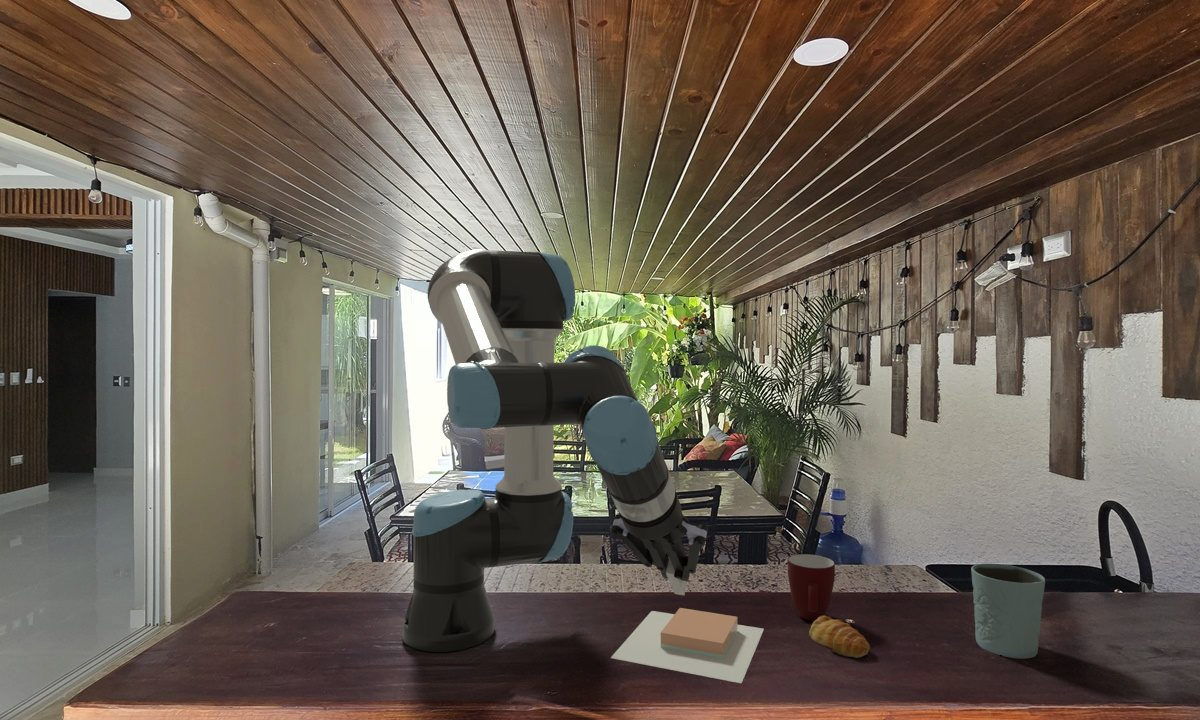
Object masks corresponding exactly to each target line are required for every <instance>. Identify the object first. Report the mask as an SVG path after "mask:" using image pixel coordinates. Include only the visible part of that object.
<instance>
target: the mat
mask: <svg viewBox="0 0 1200 720" xmlns="http://www.w3.org/2000/svg"><path fill="white" fill-rule="evenodd" d="M674 615H675V613H674V614H673V613H669V612H661V611H654V610H651V611H650V612H649V613H648V615H647V616H646V617H645V618H644V619H643V620H642V621H641V622H640V624H639V625H638V626H637V627H636V628H635V629H634V630H633V632H632V633H630V635H629V636H628V637H627V638H626V639H625V641H624V642H623V643H622V644H621V645H620V647H618V649H616V651H615V652H614V653H613V654H612V655H611V657H610V659H613V660H618V661H624V662H629V663H634V664H639V665H645V666H650V667H654V668H659V669H665V670H670V671H673V672H674V671H675V672H679V673H680V672H681V673H685V674H692V675H695V676H700V677H706V678H710V679H711V678H712V679H716V680H721V681H727V682H732V683H737V684H740V685H741V684H743V680H744V679H745V676H746V673H747V671H748V670H749V666H750V665H751V662H752V659H753V657H754V654H755V652H756V649H757V647H758V645H759V642H760V640H761V637H762V635H763V633H764V630H765V629H764V628H762V627H761V628H760V627H755V626H747V625H742V624H737V633H736V635H735V637H734V639H733V641H732V643H731V645H730V646H729V648H728V650H727V652H726V654H725V656H724V658H723V659H721V658H715V657H710V656H704V655H699V654H693V653H688V652H682V651H677V650H671V649H666V648H661V631H662V630H663V629H664V628H665V626H666V625H667V624H668V622H669V621H670V620H671V619H672V617H673V616H674Z"/></svg>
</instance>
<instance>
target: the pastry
mask: <svg viewBox="0 0 1200 720" xmlns="http://www.w3.org/2000/svg"><path fill="white" fill-rule="evenodd" d="M808 636H809V637H810V638H811V639H812V640H813V642H815V643H817V644H819V645H822V646H824V647H827V648H829V649H830V651H831V652H833V653H835V654H837V655H840V656H845V657H848V658H849V657H852V658H856V659H859V658H862V657H864V656H867V655H868V654H869V651H870V650H871V646H870V643H869V642H868V641H867V640H866V638H865V636H864V635H863V634H861V633H860V632H859V631H858V630H857V629H855V628H854V627H852V626H851V624H850V623H848V622H847V623H846V622H844V621H843V620H841V619H833V618H832V617H830V616H828V615H824V616H820V617H818V619H817V620H815V621H813V622H812V624H811V626H810V629H809V631H808Z"/></svg>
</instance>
